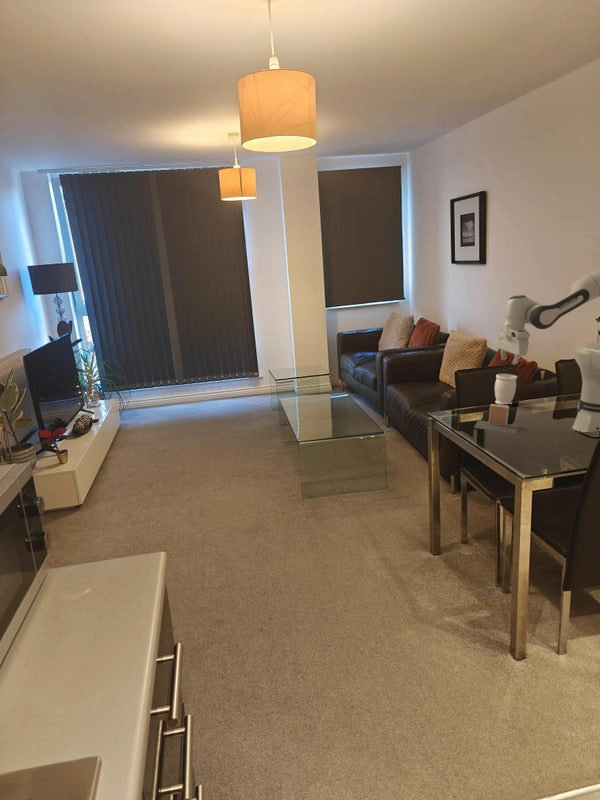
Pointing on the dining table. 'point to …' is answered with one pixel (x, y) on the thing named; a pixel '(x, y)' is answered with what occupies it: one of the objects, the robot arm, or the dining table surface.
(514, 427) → the mat
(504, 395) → the jar
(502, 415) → the tile
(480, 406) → the dining table surface
